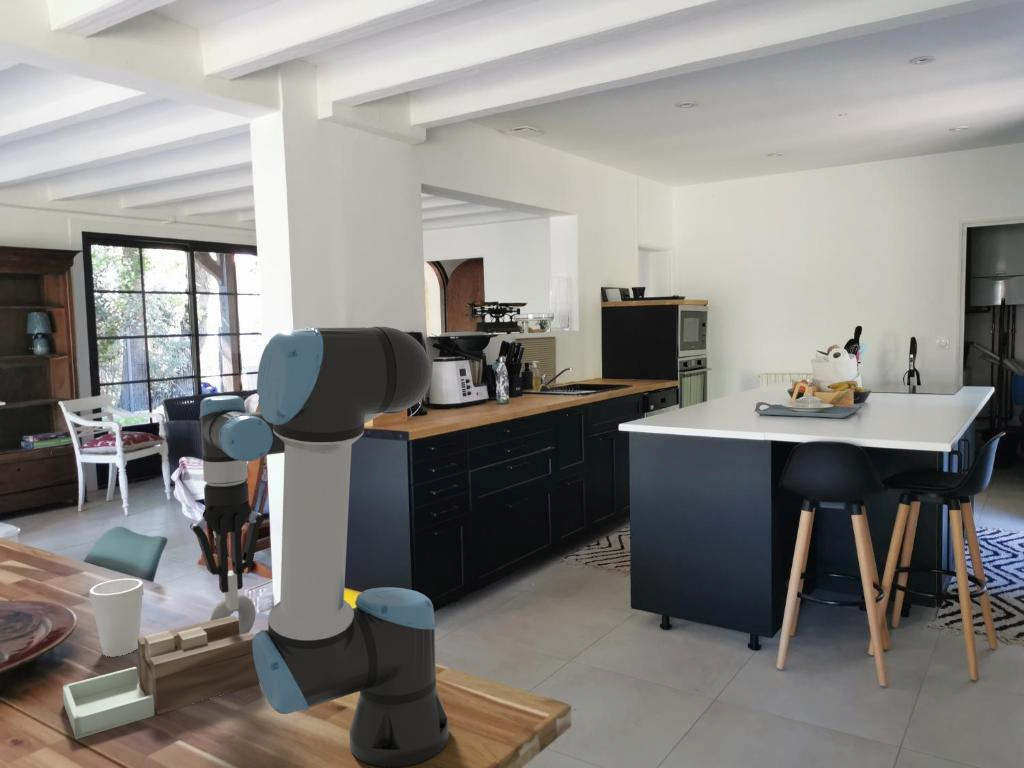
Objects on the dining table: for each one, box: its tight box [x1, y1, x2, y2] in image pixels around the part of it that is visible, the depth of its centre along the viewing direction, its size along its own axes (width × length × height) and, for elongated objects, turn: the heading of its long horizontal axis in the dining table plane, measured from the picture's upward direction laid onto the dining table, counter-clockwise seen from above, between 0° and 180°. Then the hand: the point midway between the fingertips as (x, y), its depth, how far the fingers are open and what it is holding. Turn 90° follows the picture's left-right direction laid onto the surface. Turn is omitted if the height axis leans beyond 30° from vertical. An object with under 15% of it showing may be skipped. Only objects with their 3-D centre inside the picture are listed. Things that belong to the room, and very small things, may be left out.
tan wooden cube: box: [143, 630, 175, 664], centre depth 136 cm, size 4×4×4 cm
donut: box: [209, 593, 256, 635], centre depth 156 cm, size 10×4×10 cm, turn 146°
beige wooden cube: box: [177, 627, 207, 651], centre depth 137 cm, size 4×4×4 cm
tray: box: [62, 666, 155, 740], centre depth 131 cm, size 14×12×3 cm
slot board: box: [137, 614, 261, 715], centre depth 139 cm, size 14×17×8 cm
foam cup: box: [89, 578, 145, 658], centre depth 154 cm, size 10×9×13 cm
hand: (232, 607), depth 142 cm, fingers closed
